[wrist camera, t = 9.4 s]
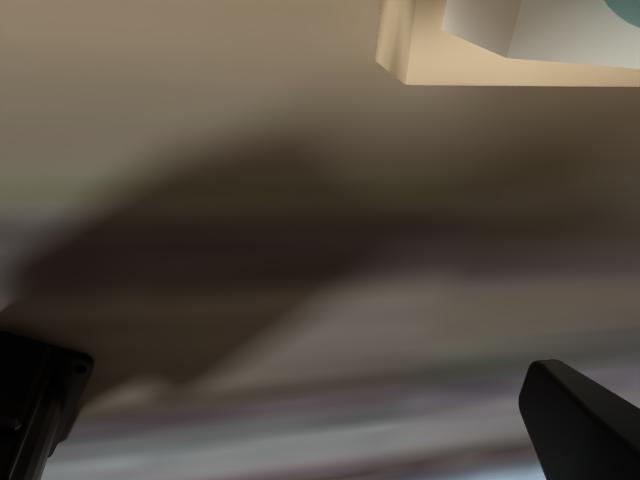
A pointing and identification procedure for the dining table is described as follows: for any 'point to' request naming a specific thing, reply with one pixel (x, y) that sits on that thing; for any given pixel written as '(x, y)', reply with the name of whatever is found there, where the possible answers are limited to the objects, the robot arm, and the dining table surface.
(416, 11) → the oak base slab
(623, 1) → the seafoam tapered dome
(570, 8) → the white upper slab
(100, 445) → the dining table surface
